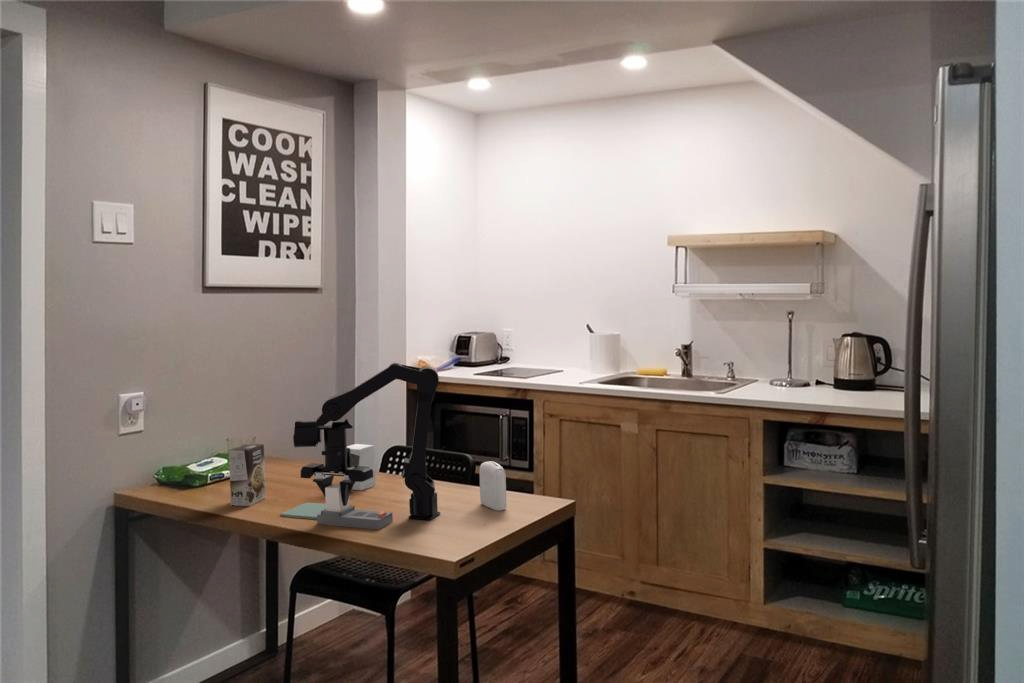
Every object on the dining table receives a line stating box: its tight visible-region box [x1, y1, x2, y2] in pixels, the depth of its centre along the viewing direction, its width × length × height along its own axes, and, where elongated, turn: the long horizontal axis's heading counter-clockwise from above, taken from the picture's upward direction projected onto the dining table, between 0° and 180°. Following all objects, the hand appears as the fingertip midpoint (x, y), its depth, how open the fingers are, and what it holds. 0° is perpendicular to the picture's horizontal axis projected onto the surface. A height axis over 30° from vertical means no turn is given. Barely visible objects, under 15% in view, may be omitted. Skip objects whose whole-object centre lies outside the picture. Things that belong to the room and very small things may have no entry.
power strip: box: [316, 505, 394, 530], centre depth 208 cm, size 18×7×3 cm, turn 70°
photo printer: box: [478, 460, 508, 511], centre depth 220 cm, size 10×4×12 cm, turn 27°
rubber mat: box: [279, 502, 326, 520], centre depth 219 cm, size 12×12×1 cm
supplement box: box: [341, 443, 377, 491], centre depth 246 cm, size 7×7×13 cm
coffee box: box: [228, 443, 267, 507], centre depth 231 cm, size 9×6×16 cm
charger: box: [324, 482, 350, 512], centre depth 209 cm, size 4×5×7 cm
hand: (337, 504), depth 209 cm, fingers closed on charger, 4 cm apart
